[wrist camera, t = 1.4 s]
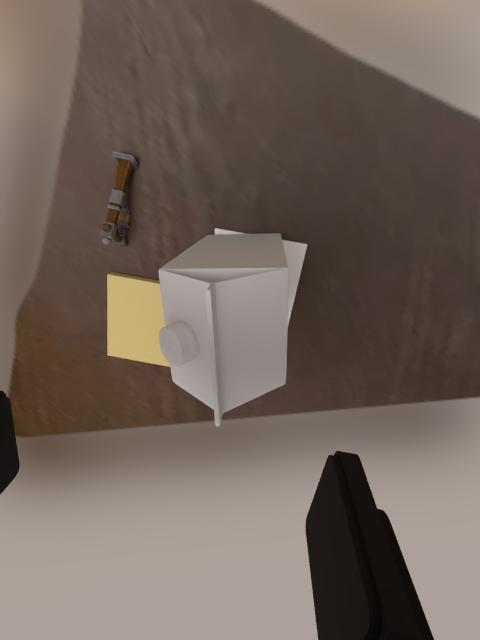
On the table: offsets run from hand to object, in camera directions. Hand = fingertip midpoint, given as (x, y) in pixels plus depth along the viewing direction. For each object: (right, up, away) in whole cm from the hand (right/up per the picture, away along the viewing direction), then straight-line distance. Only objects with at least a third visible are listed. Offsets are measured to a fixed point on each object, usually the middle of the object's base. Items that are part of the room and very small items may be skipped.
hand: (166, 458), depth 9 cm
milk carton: (+3, +9, +23) cm, 25 cm away
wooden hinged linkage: (-8, +16, +22) cm, 28 cm away
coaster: (-7, +4, +26) cm, 27 cm away
